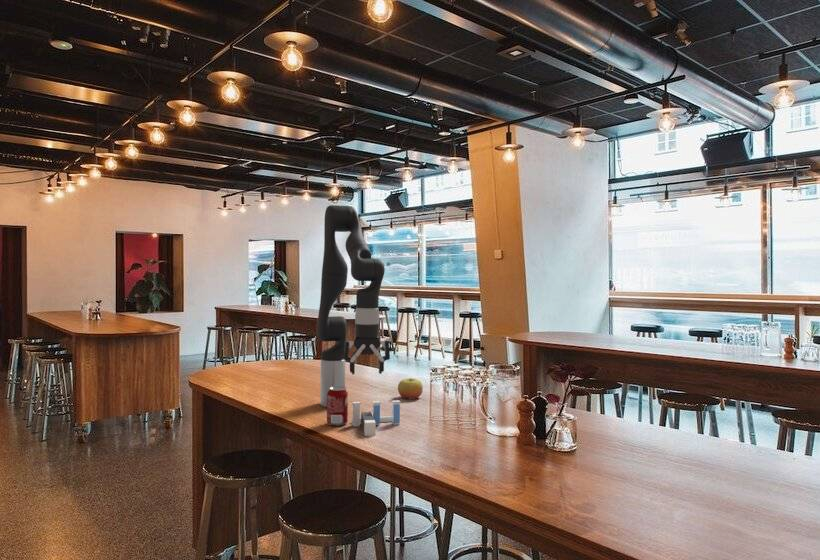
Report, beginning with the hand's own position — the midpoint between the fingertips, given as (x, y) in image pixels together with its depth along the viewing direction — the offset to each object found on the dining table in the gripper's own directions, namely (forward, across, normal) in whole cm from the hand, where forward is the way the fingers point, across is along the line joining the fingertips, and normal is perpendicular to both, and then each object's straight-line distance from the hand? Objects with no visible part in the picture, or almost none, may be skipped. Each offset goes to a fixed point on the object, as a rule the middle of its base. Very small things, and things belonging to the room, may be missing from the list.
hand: (366, 373), depth 177 cm
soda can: (+19, +9, -10) cm, 23 cm away
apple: (+19, -22, -44) cm, 53 cm away
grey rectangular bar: (+19, -1, -3) cm, 19 cm away
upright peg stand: (+19, -4, -9) cm, 21 cm away
